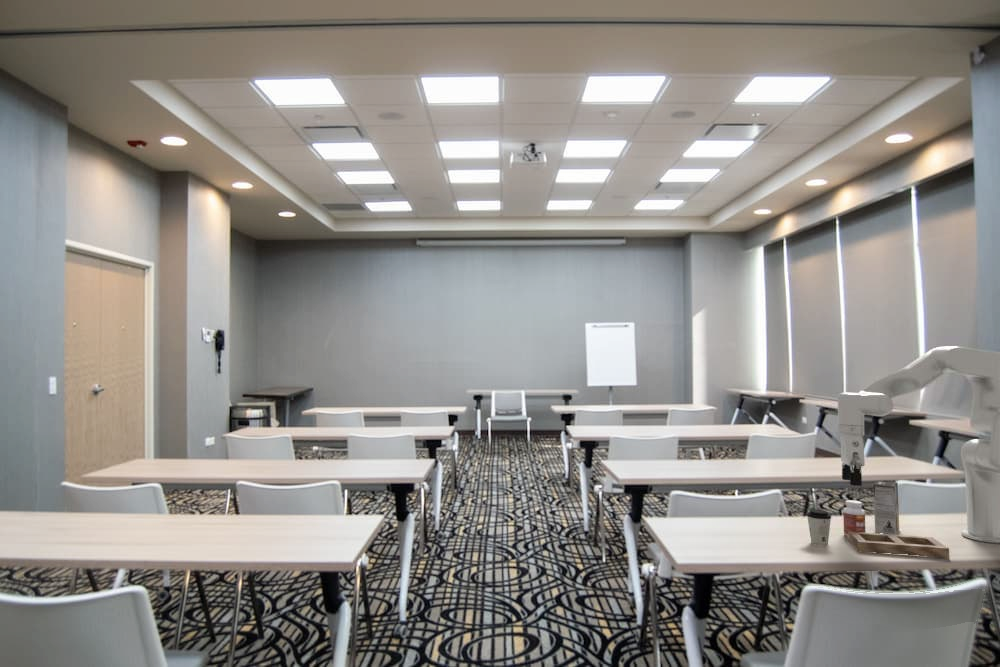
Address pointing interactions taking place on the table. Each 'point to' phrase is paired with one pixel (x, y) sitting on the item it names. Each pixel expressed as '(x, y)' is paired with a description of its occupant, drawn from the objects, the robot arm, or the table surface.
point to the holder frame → (898, 544)
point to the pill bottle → (853, 517)
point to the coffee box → (886, 507)
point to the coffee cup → (819, 526)
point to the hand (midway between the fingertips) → (851, 482)
